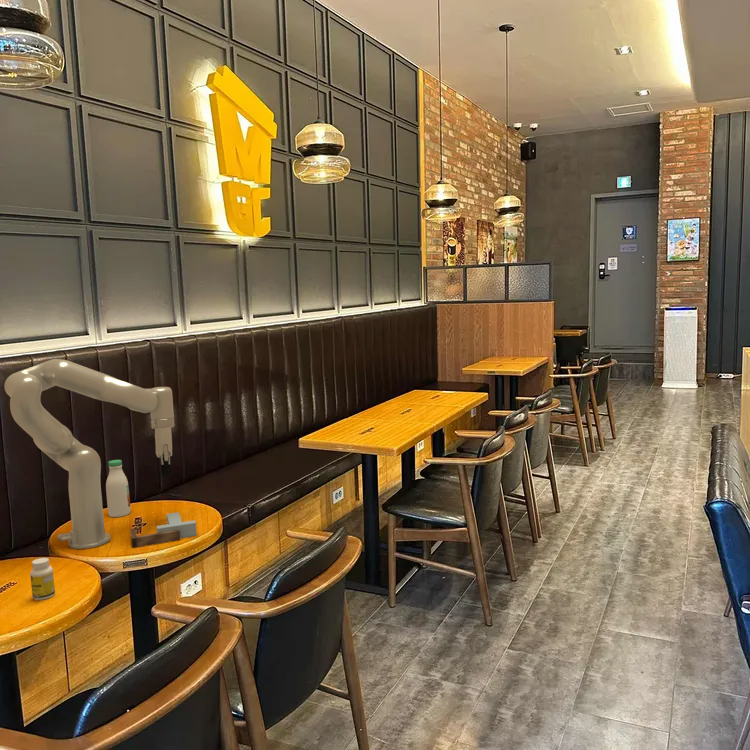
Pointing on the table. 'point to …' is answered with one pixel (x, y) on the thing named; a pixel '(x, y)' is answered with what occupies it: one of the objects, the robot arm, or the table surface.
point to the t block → (178, 526)
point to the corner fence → (153, 538)
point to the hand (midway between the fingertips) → (166, 475)
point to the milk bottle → (117, 490)
